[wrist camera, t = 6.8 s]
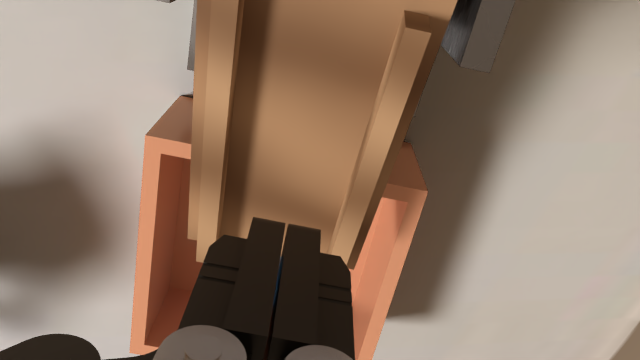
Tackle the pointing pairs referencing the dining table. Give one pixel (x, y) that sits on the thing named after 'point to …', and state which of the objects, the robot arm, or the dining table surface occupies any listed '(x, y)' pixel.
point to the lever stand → (450, 33)
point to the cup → (182, 269)
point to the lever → (304, 112)
